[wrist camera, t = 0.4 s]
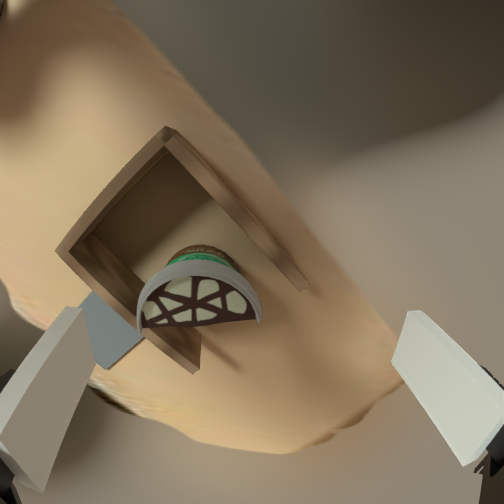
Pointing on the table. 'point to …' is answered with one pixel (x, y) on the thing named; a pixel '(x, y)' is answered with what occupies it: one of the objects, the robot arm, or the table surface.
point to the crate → (123, 279)
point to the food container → (197, 292)
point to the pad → (107, 331)
